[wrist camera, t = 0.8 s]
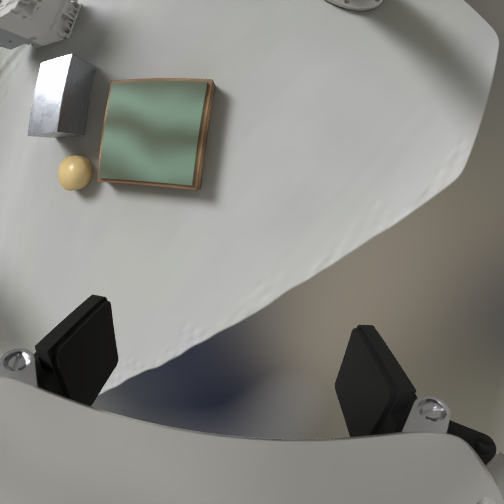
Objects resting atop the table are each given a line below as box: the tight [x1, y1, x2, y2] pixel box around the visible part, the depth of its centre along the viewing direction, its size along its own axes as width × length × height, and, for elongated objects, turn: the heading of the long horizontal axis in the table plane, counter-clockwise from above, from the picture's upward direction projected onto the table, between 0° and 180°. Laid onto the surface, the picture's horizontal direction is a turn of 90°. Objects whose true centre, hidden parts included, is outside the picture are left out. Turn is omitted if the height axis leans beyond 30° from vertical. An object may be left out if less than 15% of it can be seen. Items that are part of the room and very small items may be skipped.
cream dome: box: [58, 156, 93, 191], centre depth 35 cm, size 5×5×2 cm
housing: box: [28, 54, 96, 138], centre depth 29 cm, size 11×6×7 cm, turn 174°
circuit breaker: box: [0, 0, 82, 49], centre depth 21 cm, size 8×14×15 cm, turn 83°
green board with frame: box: [97, 78, 215, 190], centre depth 33 cm, size 14×14×3 cm
